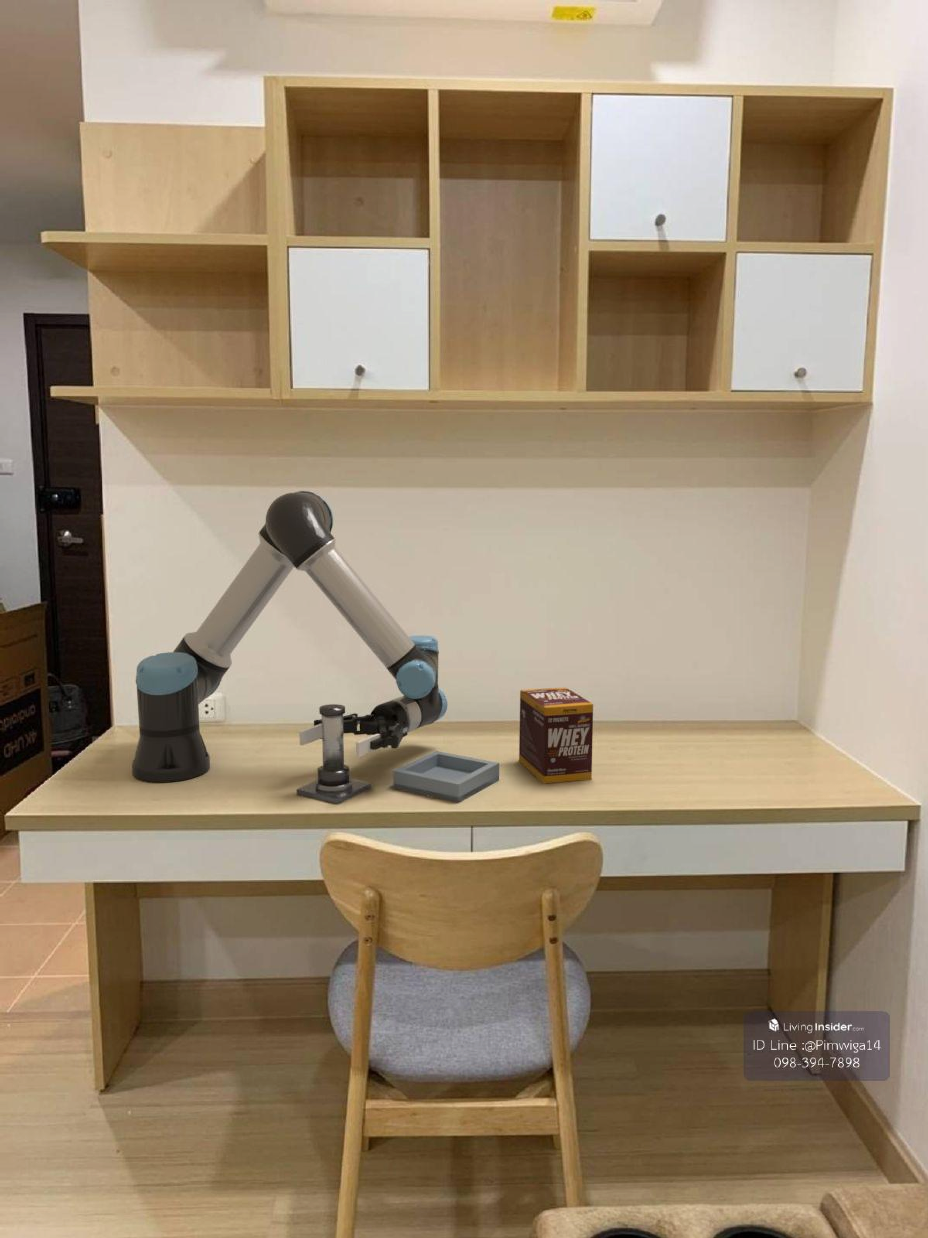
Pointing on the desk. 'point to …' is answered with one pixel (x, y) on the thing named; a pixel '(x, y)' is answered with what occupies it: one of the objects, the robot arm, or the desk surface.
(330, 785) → the clear capped cylinder
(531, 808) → the desk surface
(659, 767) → the desk surface
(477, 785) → the tray
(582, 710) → the supplement box
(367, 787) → the stud mount
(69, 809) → the desk surface
